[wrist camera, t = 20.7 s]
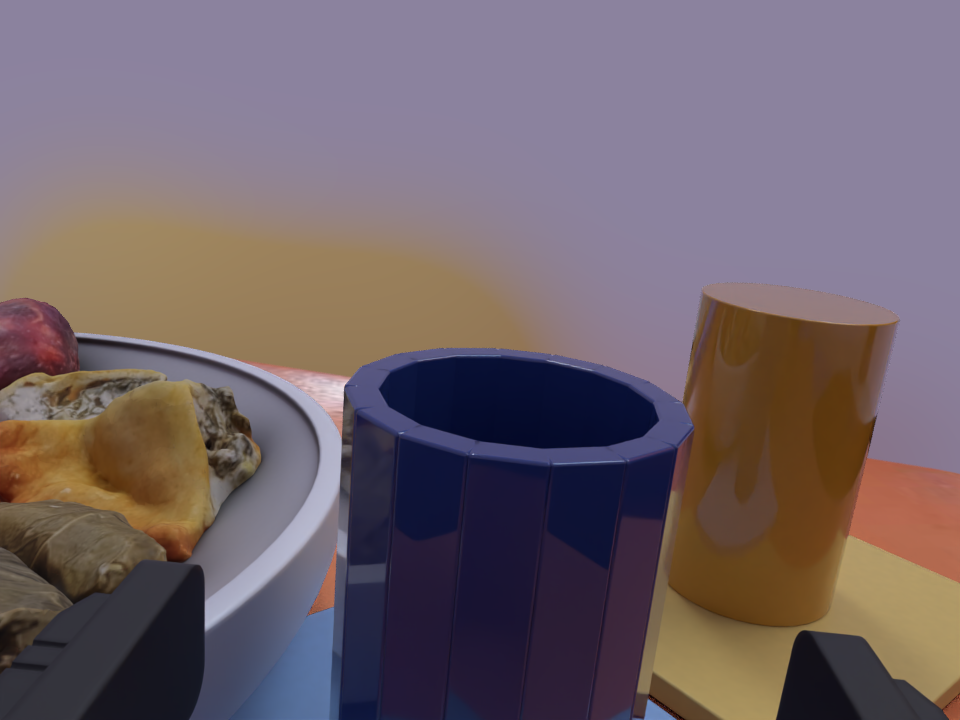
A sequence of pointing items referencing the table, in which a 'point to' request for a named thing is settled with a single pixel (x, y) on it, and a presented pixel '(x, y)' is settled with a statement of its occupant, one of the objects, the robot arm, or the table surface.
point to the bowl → (160, 488)
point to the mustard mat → (854, 611)
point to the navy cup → (503, 537)
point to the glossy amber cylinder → (776, 447)
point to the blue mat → (316, 679)
